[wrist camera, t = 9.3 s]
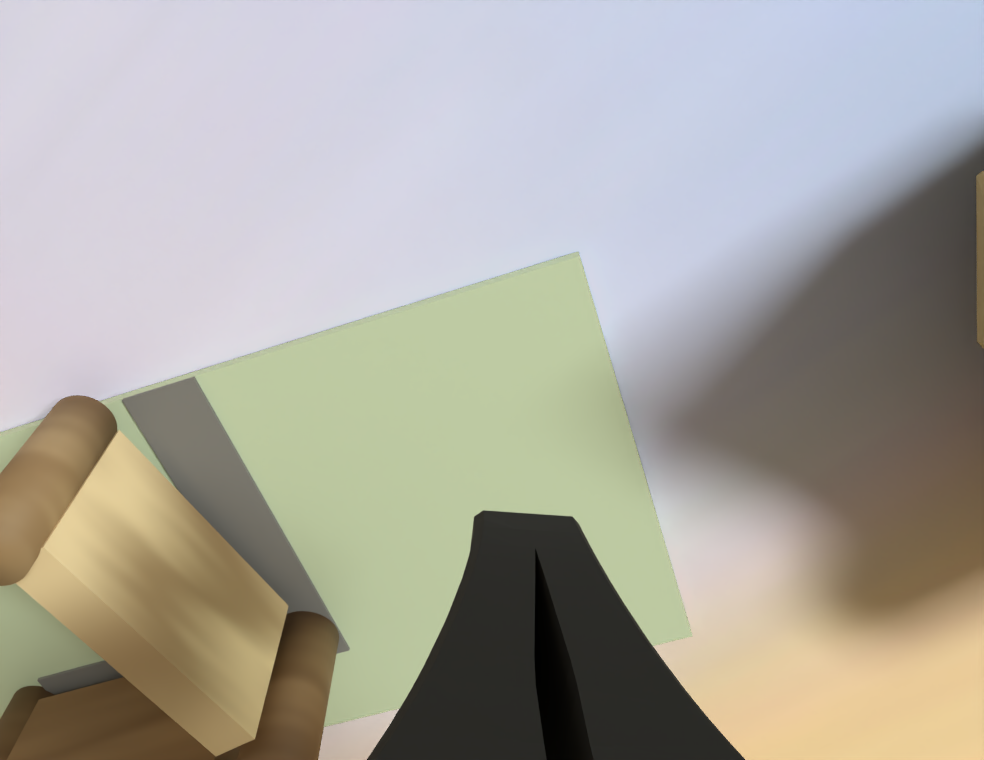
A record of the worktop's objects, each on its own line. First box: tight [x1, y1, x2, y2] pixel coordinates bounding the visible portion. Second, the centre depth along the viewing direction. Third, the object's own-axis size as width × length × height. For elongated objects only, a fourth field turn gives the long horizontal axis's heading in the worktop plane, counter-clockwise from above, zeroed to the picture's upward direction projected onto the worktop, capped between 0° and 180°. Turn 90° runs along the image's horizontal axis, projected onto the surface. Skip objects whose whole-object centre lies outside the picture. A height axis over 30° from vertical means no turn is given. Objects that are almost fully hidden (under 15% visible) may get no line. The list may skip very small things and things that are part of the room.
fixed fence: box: [0, 611, 339, 760], centre depth 25 cm, size 2×11×6 cm, turn 108°
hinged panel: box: [0, 395, 288, 756], centre depth 21 cm, size 8×2×5 cm, turn 31°
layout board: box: [0, 252, 692, 727], centre depth 25 cm, size 13×22×1 cm, turn 108°
